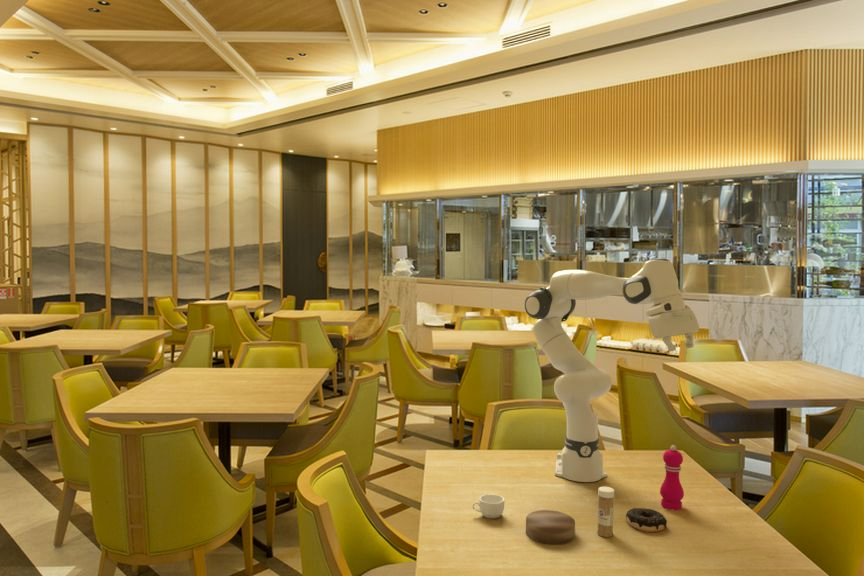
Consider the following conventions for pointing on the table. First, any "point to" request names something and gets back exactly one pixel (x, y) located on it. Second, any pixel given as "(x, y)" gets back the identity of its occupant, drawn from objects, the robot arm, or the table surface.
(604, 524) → the sprinkles bottle
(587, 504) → the table surface
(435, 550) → the table surface
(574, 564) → the table surface
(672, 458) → the pepper mill
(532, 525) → the disc
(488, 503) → the teacup
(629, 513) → the donut
